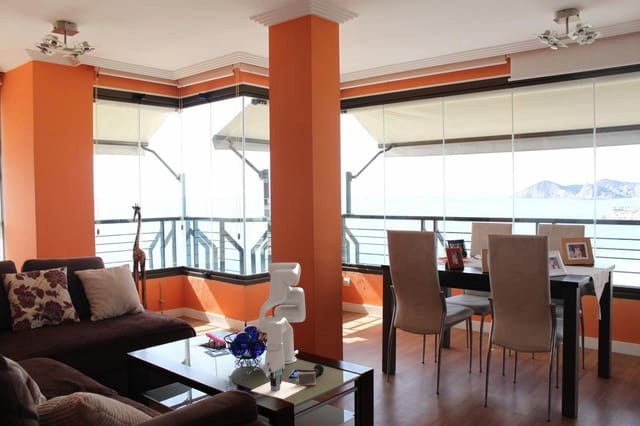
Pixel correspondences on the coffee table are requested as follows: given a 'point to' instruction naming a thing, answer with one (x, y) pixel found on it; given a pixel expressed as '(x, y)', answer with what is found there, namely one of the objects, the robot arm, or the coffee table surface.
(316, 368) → the microphone
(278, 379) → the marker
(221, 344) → the pink toy cannon
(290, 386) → the paper
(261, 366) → the coffee table surface
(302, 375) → the word card
